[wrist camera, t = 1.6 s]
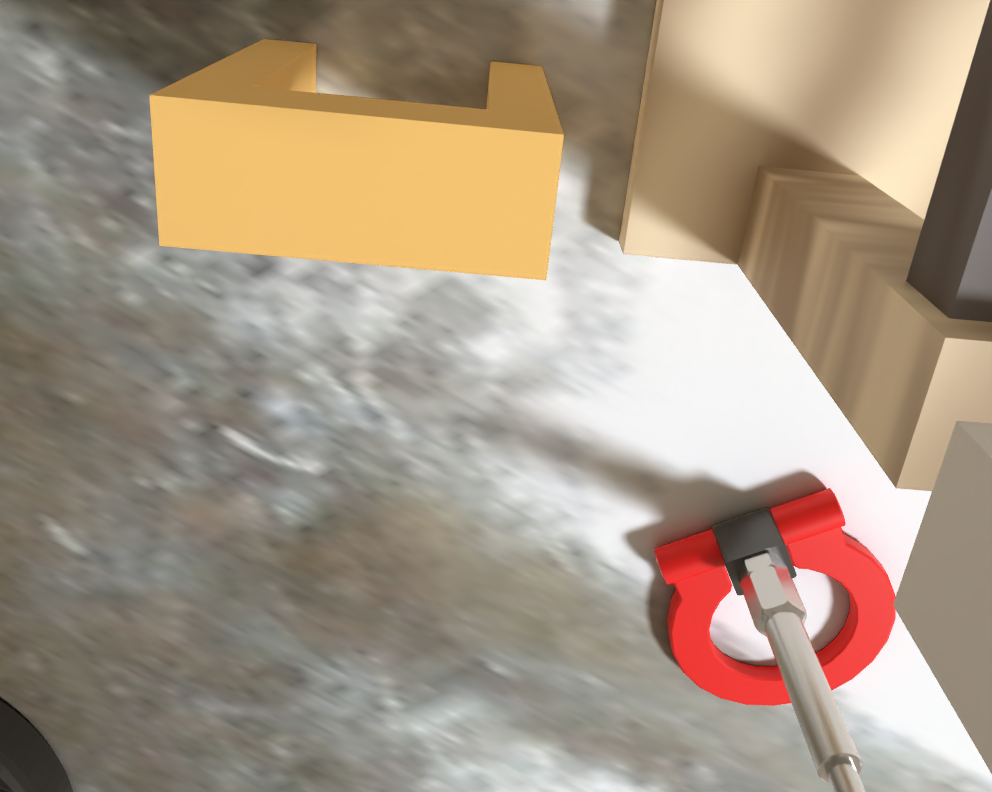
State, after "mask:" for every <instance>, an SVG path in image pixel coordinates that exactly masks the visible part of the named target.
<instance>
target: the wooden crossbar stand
mask: <svg viewBox="0 0 992 792" xmlns="http://www.w3.org/2000/svg"><path fill="white" fill-rule="evenodd" d="M619 244H620V247H621V249H622V252H623V254H628V255H639V256H650V257H661V258H672V259H683V260H694V261H705V262H716V263H727V264H737V265H738V266H739V267H740V269H741V270H742V272H743V273H744V274H745V276H746V277H747V279H748V280H749V281H750V283H751V284H752V286H753V287H754V289H755V290H756V291H757V293H758V294H759V296H760V297H761V298H762V300H763V301H764V303H765V304H766V305H767V307H768V308H769V310H770V311H771V312H772V314H773V315H774V317H775V318H776V320H777V321H778V322H779V324H780V325H781V327H782V328H783V329H784V331H785V332H786V334H787V335H788V336H789V338H790V339H791V341H792V342H793V344H794V345H795V346H796V348H797V349H798V351H799V352H800V353H801V355H802V356H803V358H804V359H805V360H806V362H807V363H808V365H809V366H810V368H811V369H812V370H813V372H814V373H815V375H816V376H817V377H818V379H819V380H820V382H821V383H822V384H823V386H824V387H825V389H826V390H827V391H828V393H829V394H830V396H831V397H832V399H833V400H834V401H835V403H836V404H837V406H838V407H839V408H840V410H841V411H842V413H843V414H844V415H845V417H846V418H847V420H848V421H849V423H850V424H851V425H852V427H853V428H854V430H855V431H856V432H857V434H858V435H859V437H860V438H861V439H862V441H863V442H864V444H865V445H866V447H867V448H868V449H869V451H870V452H871V454H872V455H873V456H874V458H875V459H876V461H877V462H878V463H879V465H880V466H881V468H882V469H883V470H884V472H885V473H886V475H887V476H888V478H889V479H890V480H891V482H892V483H893V485H894V486H895V487H896V488H901V489H913V490H925V491H933V488H934V485H935V482H936V479H937V476H938V473H939V471H940V468H941V465H942V462H943V459H944V456H945V453H946V450H947V447H948V444H949V441H950V439H951V436H952V433H953V430H954V427H955V424H956V421H967V422H979V423H992V0H657V1H656V7H655V14H654V20H653V26H652V33H651V39H650V46H649V52H648V58H647V65H646V71H645V78H644V84H643V90H642V97H641V103H640V110H639V116H638V123H637V129H636V135H635V142H634V148H633V155H632V161H631V167H630V174H629V180H628V187H627V193H626V199H625V206H624V212H623V219H622V225H621V231H620V238H619Z"/></svg>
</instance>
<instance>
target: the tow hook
mask: <svg viewBox="0 0 992 792" xmlns="http://www.w3.org/2000/svg"><path fill="white" fill-rule="evenodd" d="M842 526H845V519H844V515H843V512H842V510H841V507H840V505H839V503H838V500H837V498H836V496H835V494H834V493H833V491H832V490H831V489H830V488H829V489H826V490H823V491H820V492H817V493H814V494H811V495H808V496H805V497H803V498H800V499H797V500H794V501H791V502H788V503H785V504H782V505H779V506H776V507H774V508H771V509H769V508H766V507H765V508H762V509H759V510H756V511H753V512H750V513H747V514H744V515H742V516H739V517H736V518H733V519H730V520H727V521H724V522H721V523H718V524H716V525H714V526H713V529H710V530H707V531H704V532H701V533H698V534H695V535H692V536H690V537H687V538H684V539H681V540H678V541H675V542H672V543H669V544H666V545H663V546H661V547H658V548H655V558H656V561H657V564H658V567H659V570H660V573H661V575H662V577H663V578H664V580H665V582H666V583H667V584H668V585H669V584H672V583H673V584H674V586H675V588H676V590H675V592H674V594H673V596H672V598H671V602H670V607H669V612H668V617H667V626H668V633H669V640H670V645H671V649H672V653H673V655H674V657H675V658H676V660H677V662H678V664H679V666H680V668H681V669H682V671H683V673H685V674H686V675H687V676H688V677H689V678H690V679H691V680H692V681H693V682H694V683H695V684H696V685H697V686H699V687H700V688H702V689H704V690H706V691H708V692H710V693H712V694H713V695H715V696H717V697H719V698H722V699H726V700H730V701H734V702H738V703H742V704H746V705H773V706H774V705H780V704H787V703H792V705H793V708H794V711H795V713H796V716H797V719H798V721H799V724H800V727H801V729H802V732H803V735H804V738H805V740H806V743H807V746H808V748H809V751H810V754H811V756H812V759H813V762H814V765H815V767H816V770H817V773H818V775H819V777H820V778H821V779H822V780H824V781H826V782H828V783H830V785H831V787H832V790H833V792H865V789H864V787H863V784H862V782H861V780H860V777H859V775H858V774H859V773H860V771H861V770H862V761H861V759H860V757H859V754H858V752H857V750H856V747H855V745H854V743H853V740H852V738H851V735H850V733H849V731H848V728H847V726H846V724H845V721H844V719H843V717H842V714H841V712H840V710H839V707H838V705H837V703H836V700H835V698H834V695H833V693H832V690H833V689H835V688H837V687H839V686H840V685H842V684H844V683H846V682H848V681H849V680H851V679H853V678H854V677H855V676H856V675H857V674H859V673H860V672H861V671H862V670H863V669H864V668H866V667H867V666H868V665H869V664H870V663H871V662H872V661H873V660H874V659H875V658H876V656H877V655H878V653H879V652H880V651H881V649H882V648H883V646H884V645H885V644H886V642H887V641H888V638H889V635H890V632H891V630H892V627H893V624H894V621H895V607H894V606H893V604H894V601H895V598H896V596H895V594H894V591H893V588H892V586H891V583H890V580H889V578H888V575H887V573H886V572H885V570H884V568H883V566H882V565H881V563H880V562H879V561H878V560H877V559H876V558H875V557H874V555H873V554H872V553H871V552H870V551H869V550H868V548H867V547H865V546H864V545H862V544H860V543H859V542H857V541H855V540H854V539H852V538H850V537H849V536H847V535H845V534H843V532H842V528H841V527H842ZM725 566H726V568H727V570H726V568H725ZM793 566H795V567H797V568H799V569H810V570H813V571H817V572H821V573H824V574H826V575H828V576H830V577H832V578H833V579H835V580H837V581H838V582H840V583H841V584H842V585H843V587H844V588H845V589H846V590H847V591H848V593H849V596H850V611H849V614H848V617H847V620H846V623H845V625H844V627H843V628H842V630H841V631H840V633H839V634H838V636H837V637H836V638H835V639H834V640H833V641H832V642H831V643H829V644H828V645H827V646H826V647H825V648H824V649H822V650H821V651H819V652H817V653H815V651H814V648H813V646H812V644H811V641H810V639H809V637H808V634H807V632H806V630H805V627H804V623H805V620H806V610H805V607H804V605H803V603H802V601H801V598H800V596H799V594H798V591H797V589H796V587H795V584H794V582H793V580H792V578H794V577H796V572H795V569H794V567H793ZM727 571H728V573H729V575H728V573H727ZM729 576H730V578H731V581H732V583H733V586H734V588H735V591H736V593H737V595H744V597H745V600H746V602H747V605H748V608H749V611H750V614H751V616H752V619H753V622H754V625H755V627H756V629H757V630H758V631H759V632H760V633H762V634H763V635H765V636H766V637H767V638H768V640H769V643H770V646H771V649H772V651H773V654H774V657H775V659H776V662H777V665H778V666H774V667H766V666H752V665H748V664H744V663H741V662H737V661H736V660H734V659H732V658H730V657H728V656H726V655H724V654H723V653H722V652H721V651H720V650H719V649H718V648H717V647H716V646H715V645H714V644H713V642H712V640H711V638H710V632H709V628H710V624H711V619H712V615H713V613H714V612H715V610H716V608H717V606H718V605H719V603H720V601H721V600H722V599H723V598H724V597H725V596H726V595H727V594H728V593H729V592H730V591H731V587H732V584H731V581H730V578H729Z"/></svg>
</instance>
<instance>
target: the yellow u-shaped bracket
mask: <svg viewBox="0 0 992 792" xmlns="http://www.w3.org/2000/svg"><path fill="white" fill-rule="evenodd" d="M316 50H317V44H312V43H302V42H292V41H282V40H271V39H262V40H260V41H258V42H256V43H254V44H252V45H250V46H248V47H246V48H244V49H242V50H240V51H238V52H236V53H234V54H232V55H230V56H228V57H226V58H224V59H222V60H220V61H218V62H216V63H214V64H212V65H210V66H208V67H206V68H204V69H201V70H199V71H197V72H195V73H193V74H191V75H189V76H187V77H185V78H183V79H181V80H179V81H177V82H175V83H173V84H171V85H169V86H167V87H165V88H163V89H161V90H159V91H157V92H155V93H153V94H151V95H150V109H151V124H152V140H153V155H154V170H155V185H156V200H157V215H158V231H159V246H169V247H180V248H191V249H202V250H213V251H225V252H236V253H247V254H258V255H269V256H281V257H292V258H303V259H314V260H325V261H337V262H348V263H359V264H370V265H381V266H393V267H404V268H415V269H426V270H437V271H449V272H460V273H471V274H482V275H493V276H505V277H516V278H527V279H538V280H546V278H547V269H548V261H549V253H550V245H551V237H552V229H553V221H554V213H555V204H556V196H557V188H558V180H559V172H560V164H561V156H562V148H563V140H564V133H563V130H562V127H561V124H560V120H559V117H558V114H557V111H556V108H555V105H554V102H553V99H552V96H551V92H550V89H549V86H548V83H547V80H546V77H545V74H544V71H543V68H542V66H535V65H525V64H515V63H505V62H495V61H490V72H489V83H488V95H487V106H486V109H478V108H468V107H458V106H447V105H437V104H427V103H416V102H406V101H396V100H385V99H375V98H364V97H354V96H344V95H333V94H323V93H316Z"/></svg>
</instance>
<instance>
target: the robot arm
mask: <svg viewBox="0 0 992 792" xmlns="http://www.w3.org/2000/svg"><path fill="white" fill-rule="evenodd" d="M893 606H894V607H895V609H896V611H897V612H898V614H899V616H900V618H901V619H902V621H903V623H904V624H905V626H906V628H907V630H908V631H909V633H910V635H911V636H912V638H913V640H914V642H915V643H916V645H917V647H918V648H919V650H920V652H921V654H922V655H923V657H924V659H925V660H926V662H927V664H928V665H929V667H930V669H931V671H932V672H933V674H934V676H935V677H936V679H937V681H938V683H939V684H940V686H941V688H942V689H943V691H944V693H945V695H946V696H947V698H948V700H949V701H950V703H951V705H952V707H953V708H954V710H955V712H956V713H957V715H958V717H959V719H960V720H961V722H962V724H963V725H964V727H965V729H966V731H967V732H968V734H969V736H970V737H971V739H972V741H973V743H974V744H975V746H976V748H977V749H978V751H979V753H980V755H981V756H982V758H983V760H984V761H985V763H986V765H987V767H988V768H989V770H990V772H991V773H992V423H979V422H967V421H956V424H955V427H954V430H953V433H952V436H951V439H950V441H949V444H948V447H947V450H946V453H945V456H944V459H943V462H942V465H941V468H940V471H939V473H938V476H937V479H936V482H935V485H934V488H933V491H932V494H931V497H930V500H929V502H928V505H927V508H926V511H925V514H924V517H923V520H922V523H921V526H920V529H919V531H918V534H917V537H916V540H915V543H914V546H913V549H912V552H911V555H910V558H909V561H908V563H907V566H906V569H905V572H904V575H903V578H902V581H901V584H900V587H899V590H898V592H897V595H896V598H895V601H894V604H893ZM0 792H73V791H72V788H71V784H70V781H69V779H68V776H67V774H66V772H65V770H64V768H63V766H62V764H61V762H60V760H59V759H58V757H57V756H56V754H55V753H54V751H53V750H52V748H51V747H50V746H49V744H48V743H47V742H46V741H45V740H44V738H43V737H42V736H41V735H40V734H39V733H38V732H37V731H36V730H35V729H34V728H33V727H32V726H31V725H30V724H29V723H28V722H27V721H26V720H25V719H24V718H23V717H22V716H20V715H19V714H18V713H17V712H15V711H14V710H13V709H12V708H10V707H9V706H8V705H6V704H5V703H3V702H2V701H1V700H0Z"/></svg>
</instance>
